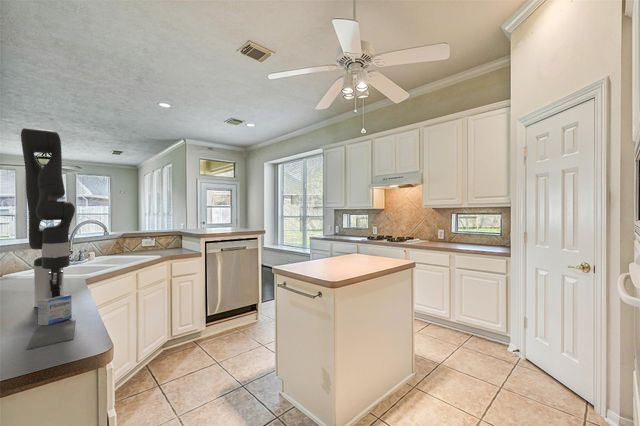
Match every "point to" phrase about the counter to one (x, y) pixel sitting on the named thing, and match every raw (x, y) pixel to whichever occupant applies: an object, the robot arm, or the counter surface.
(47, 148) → the robot arm
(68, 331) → the mat
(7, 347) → the counter surface
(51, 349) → the counter surface
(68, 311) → the medicine box
